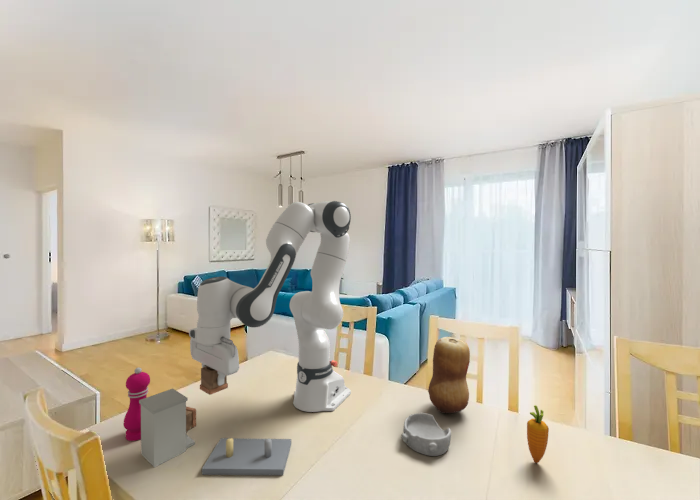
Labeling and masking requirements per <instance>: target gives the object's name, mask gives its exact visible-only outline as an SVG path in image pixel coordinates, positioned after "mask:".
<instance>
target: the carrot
mask: <svg viewBox="0 0 700 500" xmlns="http://www.w3.org/2000/svg"><path fill="white" fill-rule="evenodd" d="M533 408H534V411H535V412H534V411H532V412H531V411H530V412H529V414H530V415H531V416H532V417H533V418H531V419H528V421H527V422H526V438H527V445H528V450H529V453H530V456H531V458H532V460H533V462H534V463H535V464H538V463H540V461H541V460H542V459H543V457H544V455H545V453H546V450H547V446H548V440H549V430H550V429H549V426H548V424H546V422H545V421H544V420H543V418H544V410H543V409H540V410H539V408H538V406H537V405H536V404H534V405H533Z"/></svg>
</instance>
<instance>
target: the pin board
mask: <svg viewBox="0 0 700 500" xmlns="http://www.w3.org/2000/svg"><path fill="white" fill-rule="evenodd" d="M291 447H292V439H291V438H237V437H234V438H233V437H227V438H226V437H221V438H219V441H218V442H217V444H216V445H215V447H214V448H213V450H212V452H211V453H210V455H209V456H208V458H207V460H206V461H205V463H204V464H203V466H202V469H201V475H204V476H205V475H214V476H215V475H217V476H218V475H222V476H223V475H224V476H228V475H229V476H284V474H285V470H286V466H287V462H288V458H289V455H290V450H291Z"/></svg>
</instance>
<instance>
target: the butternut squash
mask: <svg viewBox="0 0 700 500" xmlns="http://www.w3.org/2000/svg"><path fill="white" fill-rule="evenodd" d="M470 357H471V352H470V347H469V345H468V343H467V342H465V341H463V340H461V339H458V338H456V337H451V336H443V337H440V338H439V339H438V340H437V341H436V343H435V345H434V348H433V356H432V375H431V379H430V381H429V384H428V390H427V392H428V396H429V400H430V403H431V404H432V405H433V406H434V407H435V408H436V409H437V411H438V412H440V413H442V414H453V413H459V412H462V411H464V410H465V408H467V406H468V404H469V401H470V391H469V385H468V382H467V373H468V370H469V366H470V363H471V362H470V361H471V360H470Z"/></svg>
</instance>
